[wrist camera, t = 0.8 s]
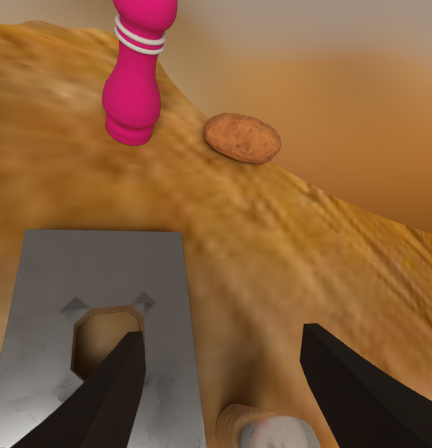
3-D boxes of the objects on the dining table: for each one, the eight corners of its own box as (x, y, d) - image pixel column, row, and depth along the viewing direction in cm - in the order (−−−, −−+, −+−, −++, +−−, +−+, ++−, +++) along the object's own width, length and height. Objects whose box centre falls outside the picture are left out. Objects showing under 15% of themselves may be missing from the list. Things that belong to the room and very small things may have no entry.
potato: (266, 180, 42) (292, 151, 36) (195, 154, 38) (212, 117, 33) (265, 152, 46) (288, 121, 40) (200, 126, 42) (216, 88, 37)
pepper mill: (110, 105, 36) (119, -99, 21) (158, 123, 38) (200, -50, 23) (94, 137, 33) (88, -86, 17) (148, 155, 35) (189, -27, 19)
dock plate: (196, 459, 21) (209, 471, 18) (-20, 543, 15) (-43, 576, 13) (174, 243, 30) (181, 232, 27) (33, 243, 24) (26, 229, 21)
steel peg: (258, 450, 23) (331, 487, 16) (219, 466, 21) (281, 516, 14) (248, 398, 24) (310, 410, 17) (212, 409, 23) (263, 428, 16)
